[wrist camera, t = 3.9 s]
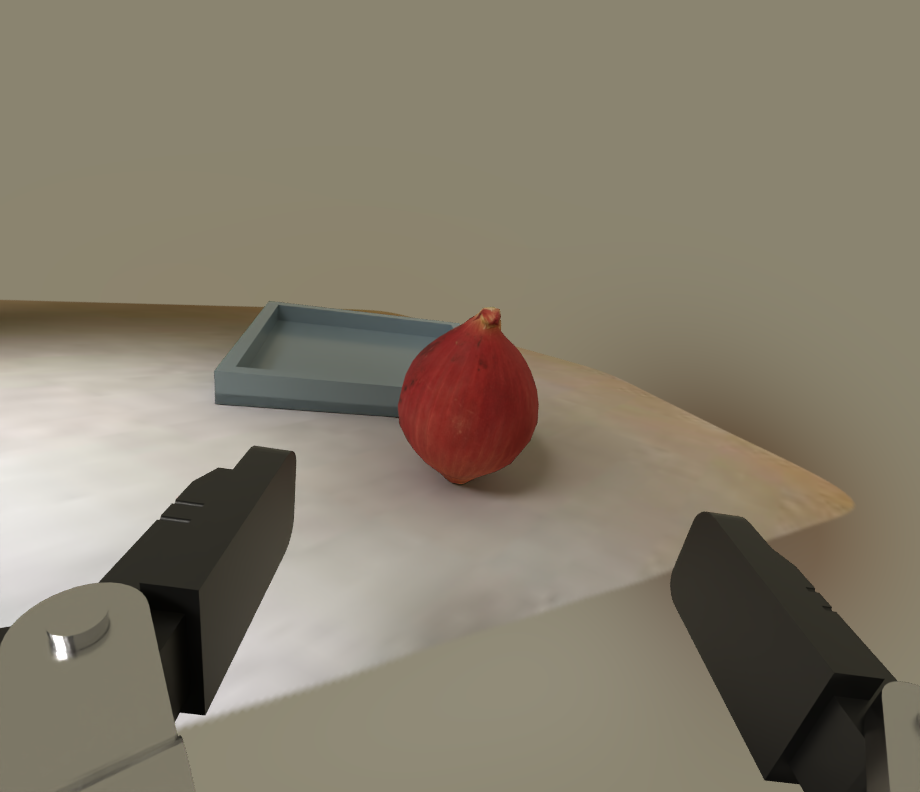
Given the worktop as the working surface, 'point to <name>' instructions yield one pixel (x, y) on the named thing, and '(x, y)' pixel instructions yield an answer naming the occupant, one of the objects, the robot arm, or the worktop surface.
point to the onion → (469, 400)
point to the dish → (323, 360)
